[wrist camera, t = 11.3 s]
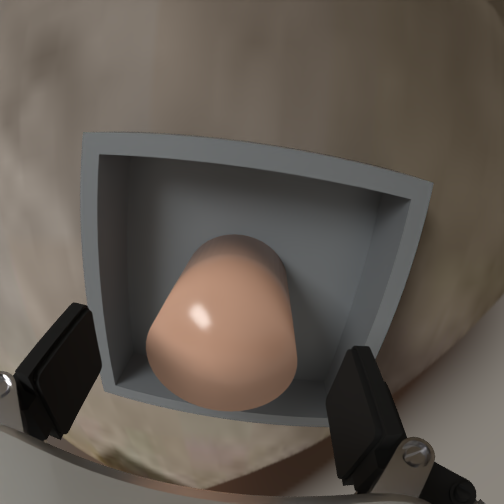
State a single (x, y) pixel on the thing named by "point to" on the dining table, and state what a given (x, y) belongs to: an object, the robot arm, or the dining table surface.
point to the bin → (249, 224)
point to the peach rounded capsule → (226, 328)
